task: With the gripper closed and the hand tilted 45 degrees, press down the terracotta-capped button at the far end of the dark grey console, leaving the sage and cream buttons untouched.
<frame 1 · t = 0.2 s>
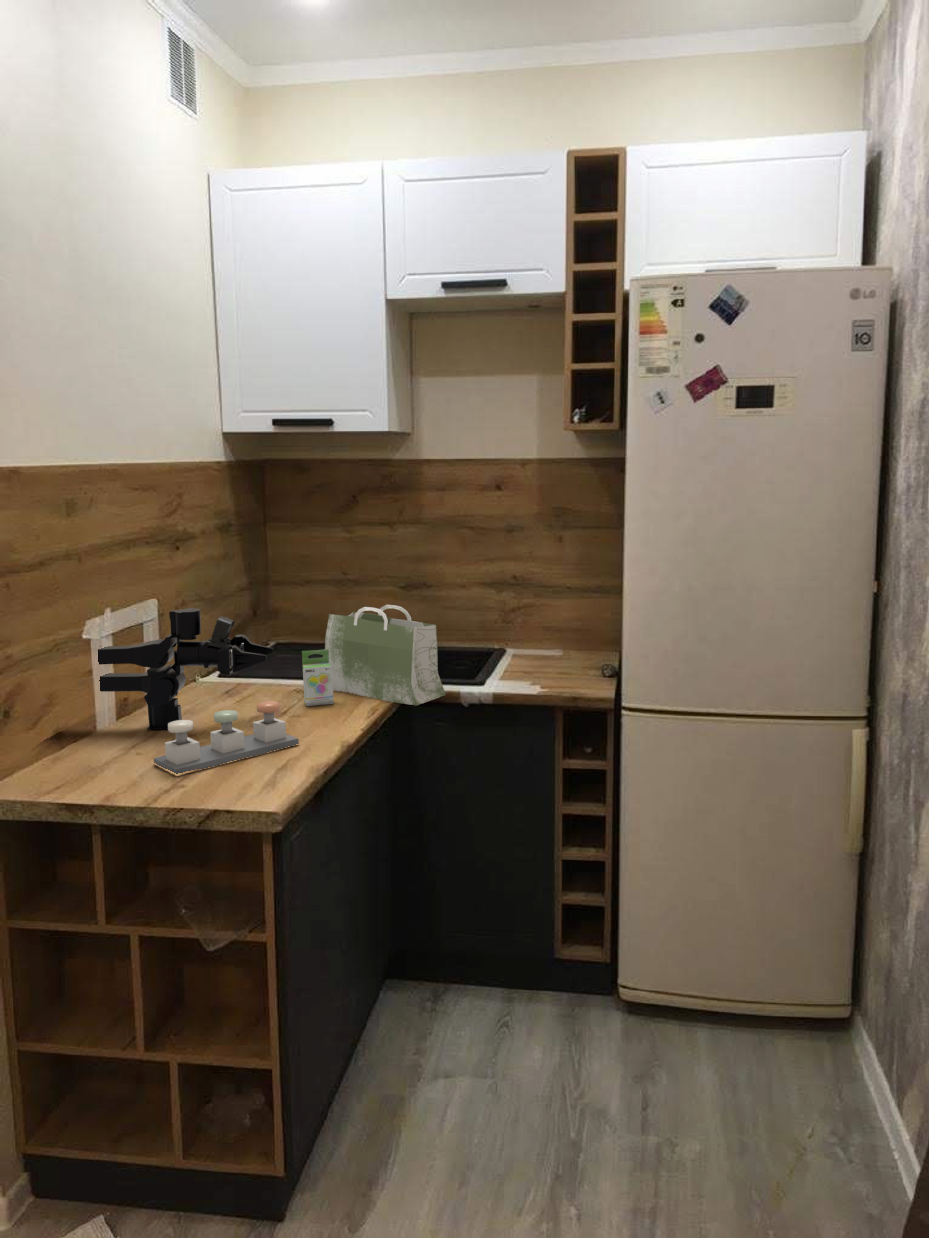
hand: (270, 654, 217), 16 cm above the counter, tool horizontal, fingers open, 9 cm apart
sage button: (226, 723, 195), point 7 cm above the counter, slide at 0.0 cm
grocery bag: (384, 692, 246), on the counter
cream button: (181, 734, 189), point 7 cm above the counter, slide at 0.0 cm
terracotta button: (268, 714, 202), point 7 cm above the counter, slide at 0.0 cm
console: (228, 754, 196), on the counter
ink box: (318, 704, 236), on the counter
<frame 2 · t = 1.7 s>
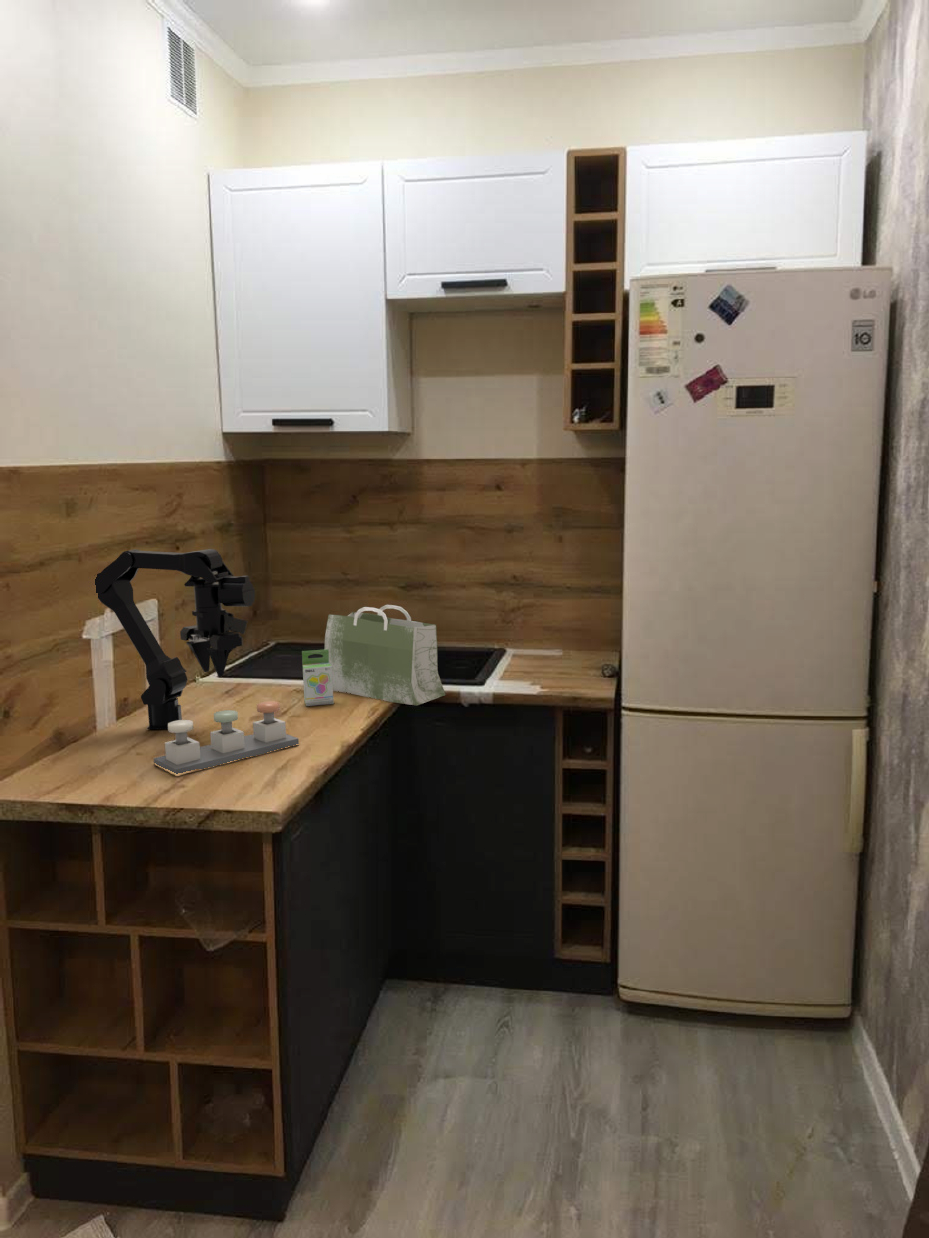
hand: (213, 673, 213), 13 cm above the counter, tool pointing down, fingers open, 6 cm apart
nothing on the counter moved.
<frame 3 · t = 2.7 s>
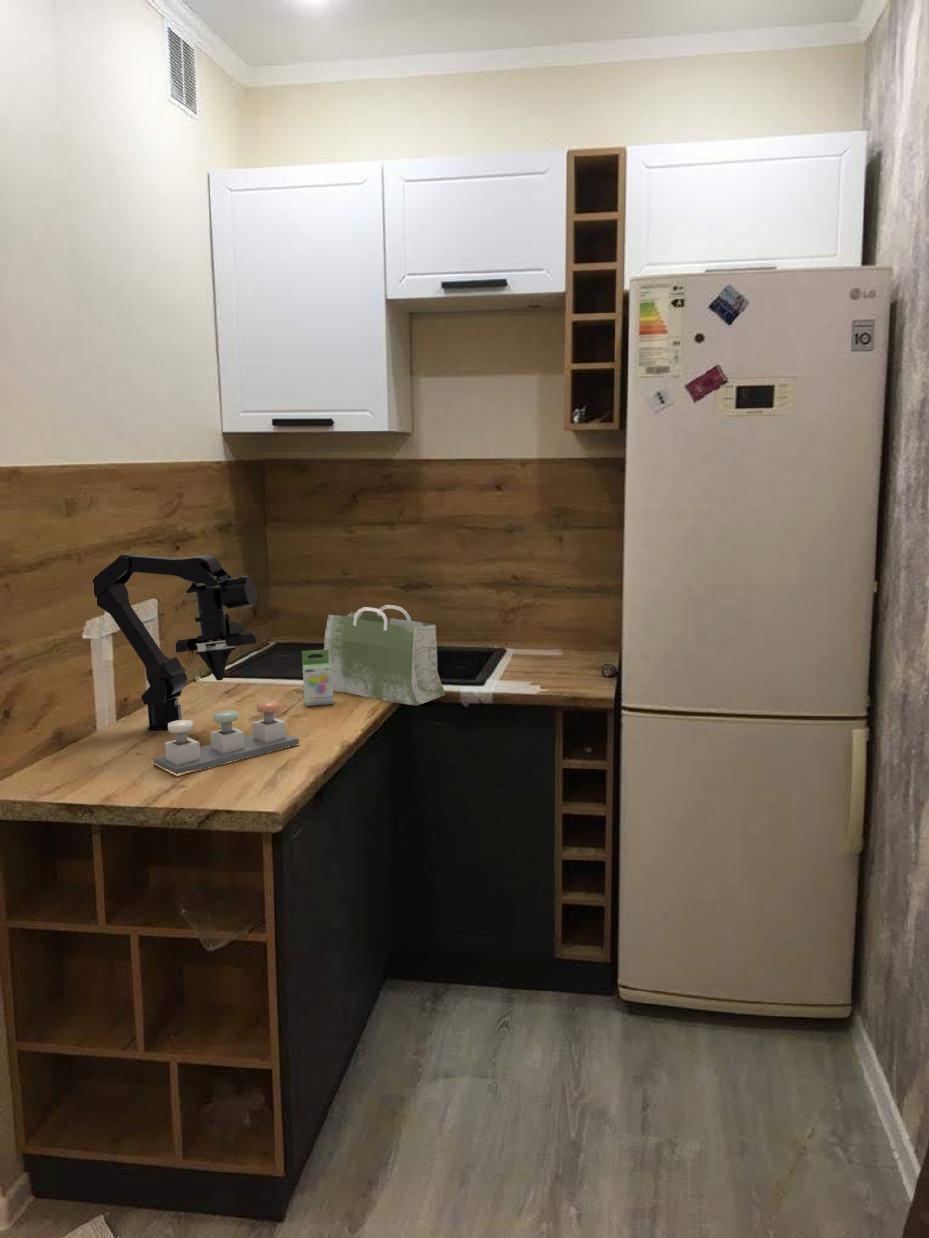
hand: (219, 680, 211), 12 cm above the counter, tool pointing down, fingers closed
nothing on the counter moved.
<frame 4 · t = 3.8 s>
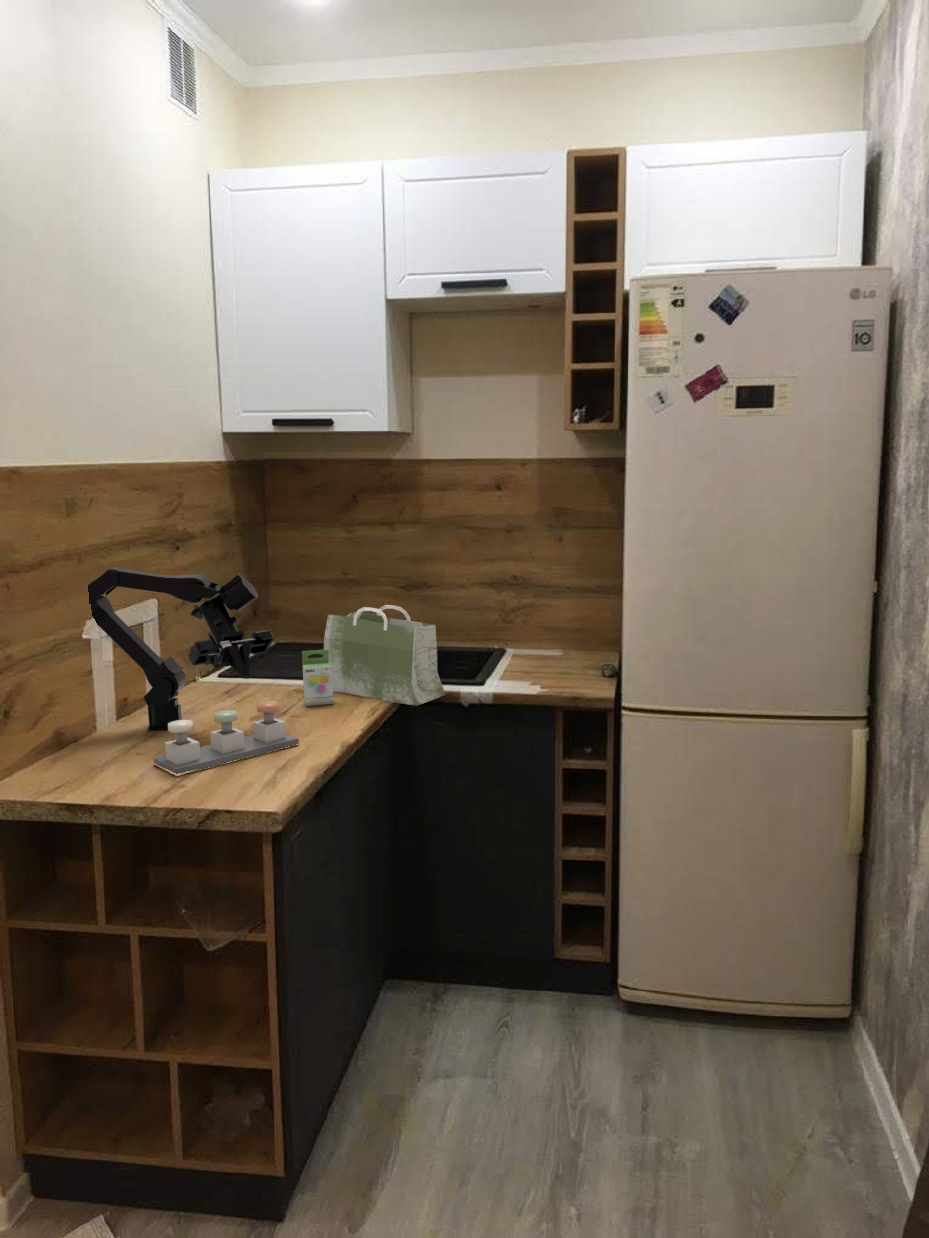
hand: (247, 677, 207), 13 cm above the counter, tool tilted 45°, fingers closed
nothing on the counter moved.
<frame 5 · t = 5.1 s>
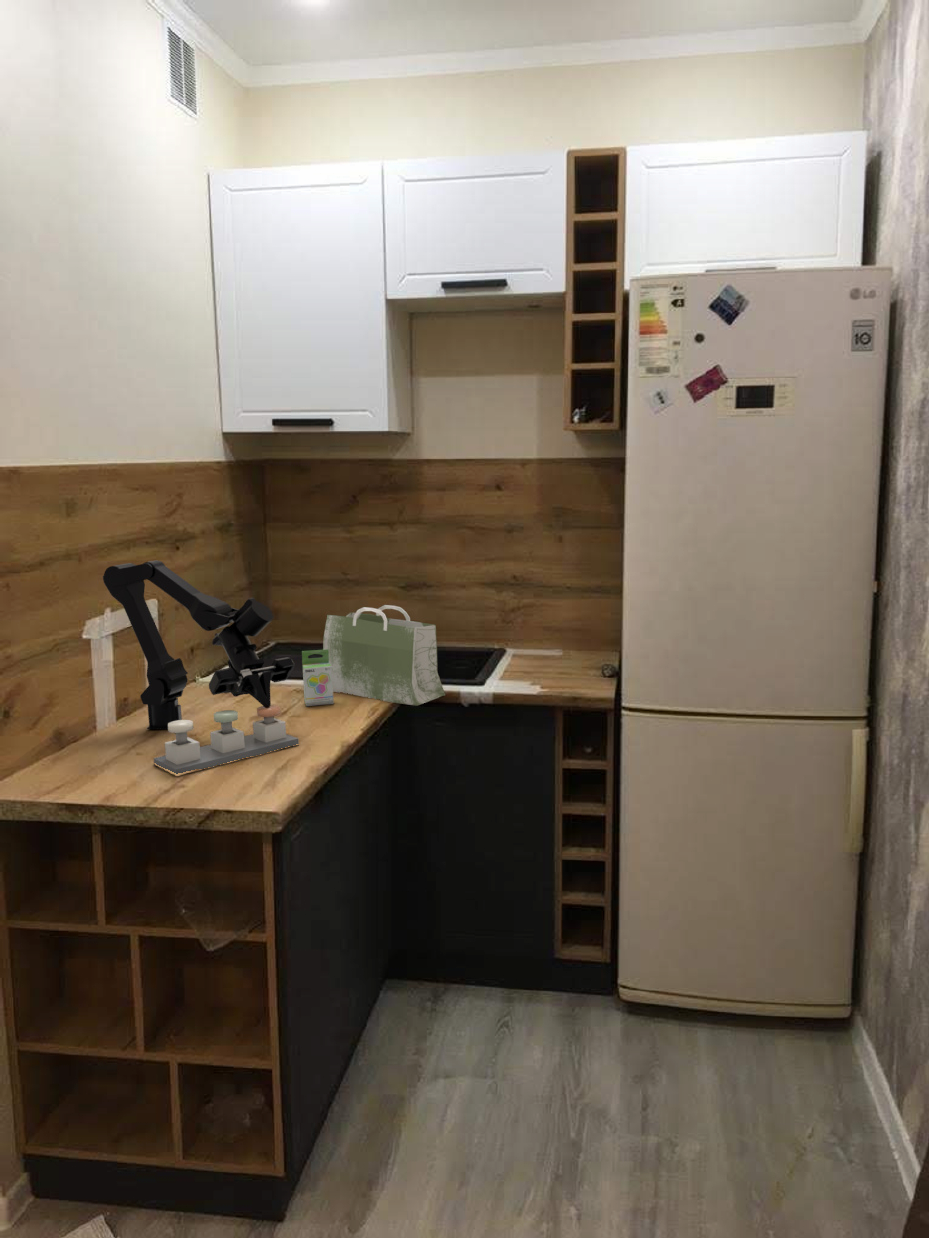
hand: (268, 706, 202), 8 cm above the counter, tool tilted 45°, fingers closed, pressing on terracotta button
terracotta button: (268, 718, 202), point 6 cm above the counter, slide at -0.9 cm, touching gripper
everything else where it was.
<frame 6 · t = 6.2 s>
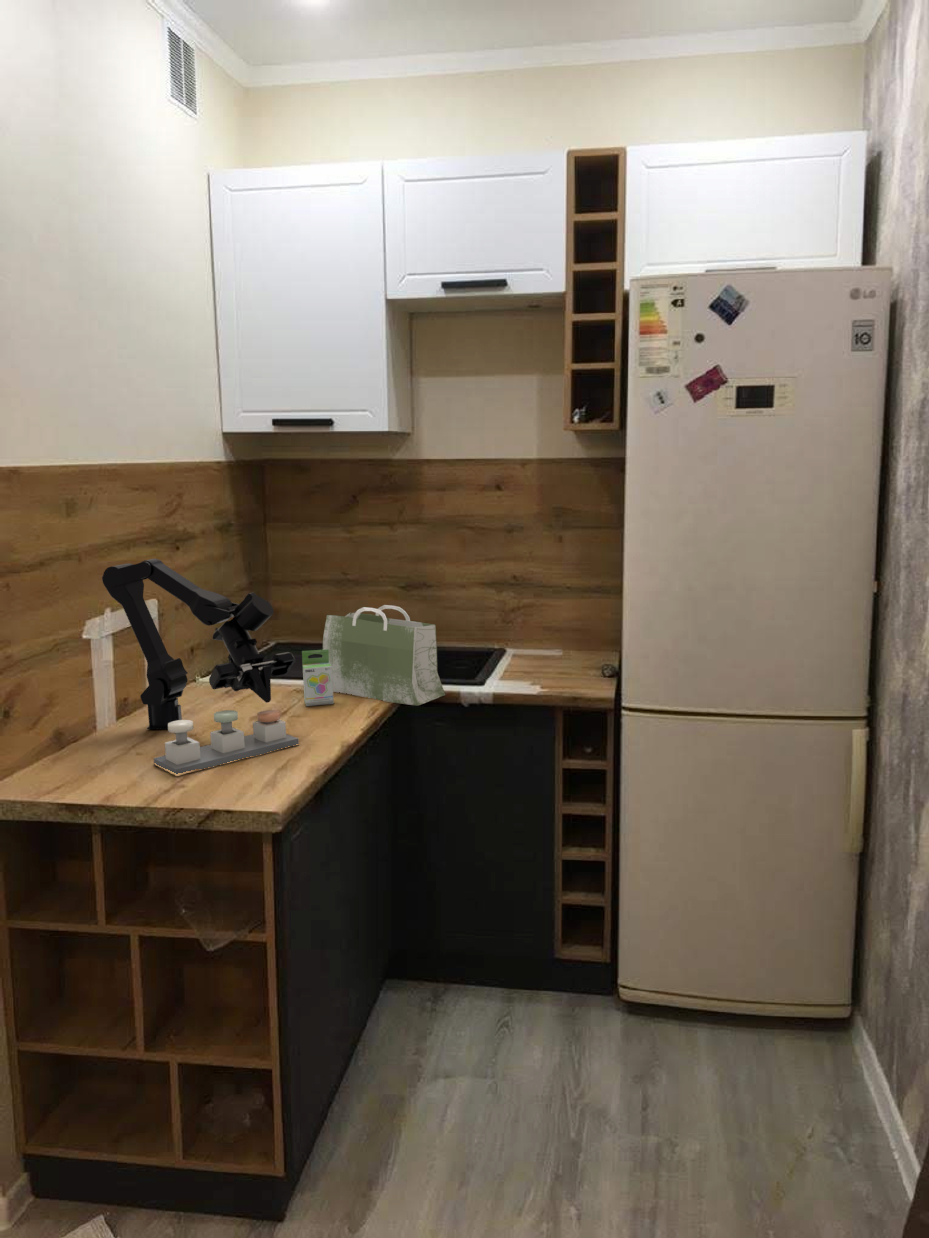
hand: (268, 701, 201), 10 cm above the counter, tool tilted 45°, fingers closed
terracotta button: (269, 723, 202), point 5 cm above the counter, slide at -2.0 cm
everything else where it was.
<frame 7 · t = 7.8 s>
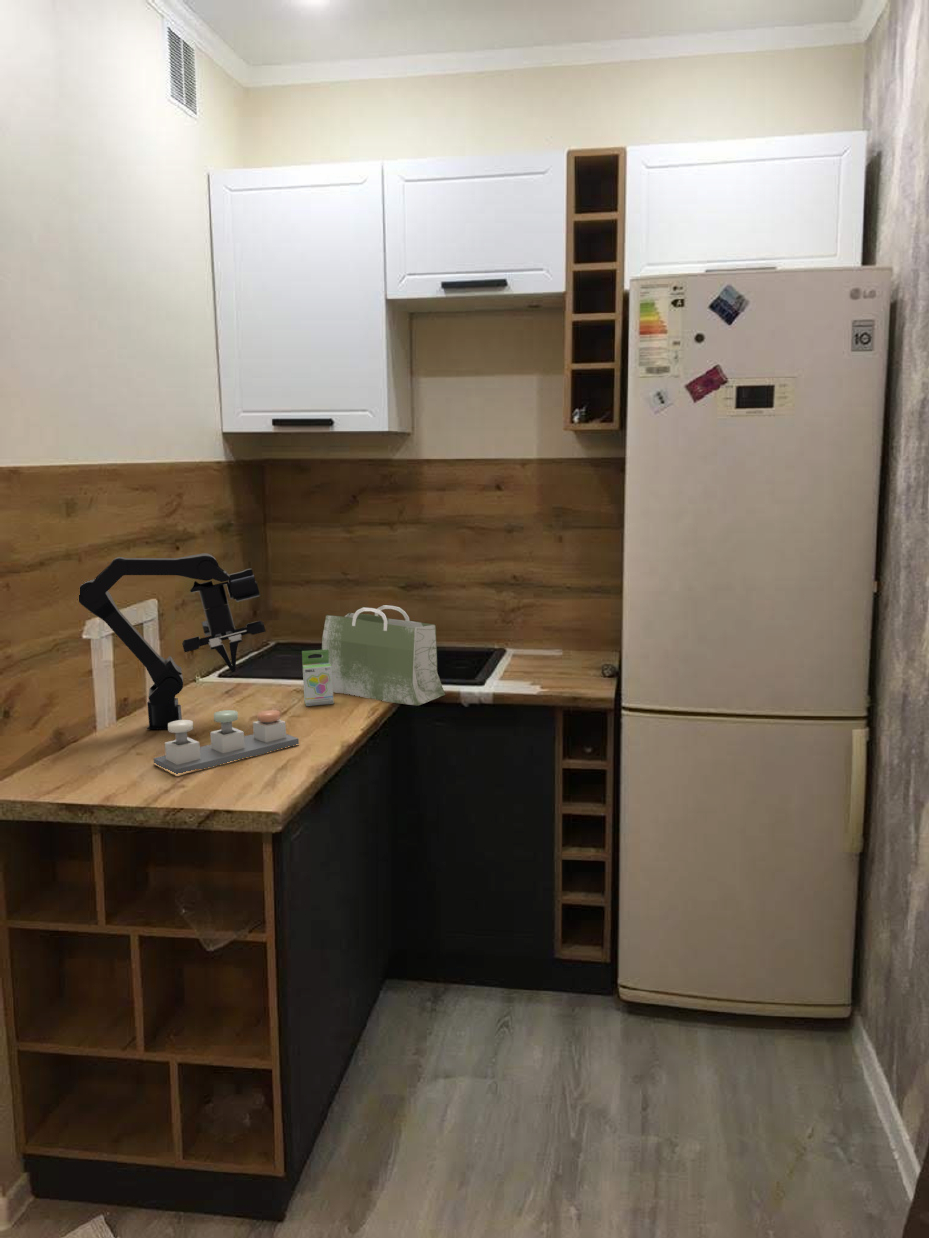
hand: (233, 672, 219), 12 cm above the counter, tool pointing down, fingers closed
nothing on the counter moved.
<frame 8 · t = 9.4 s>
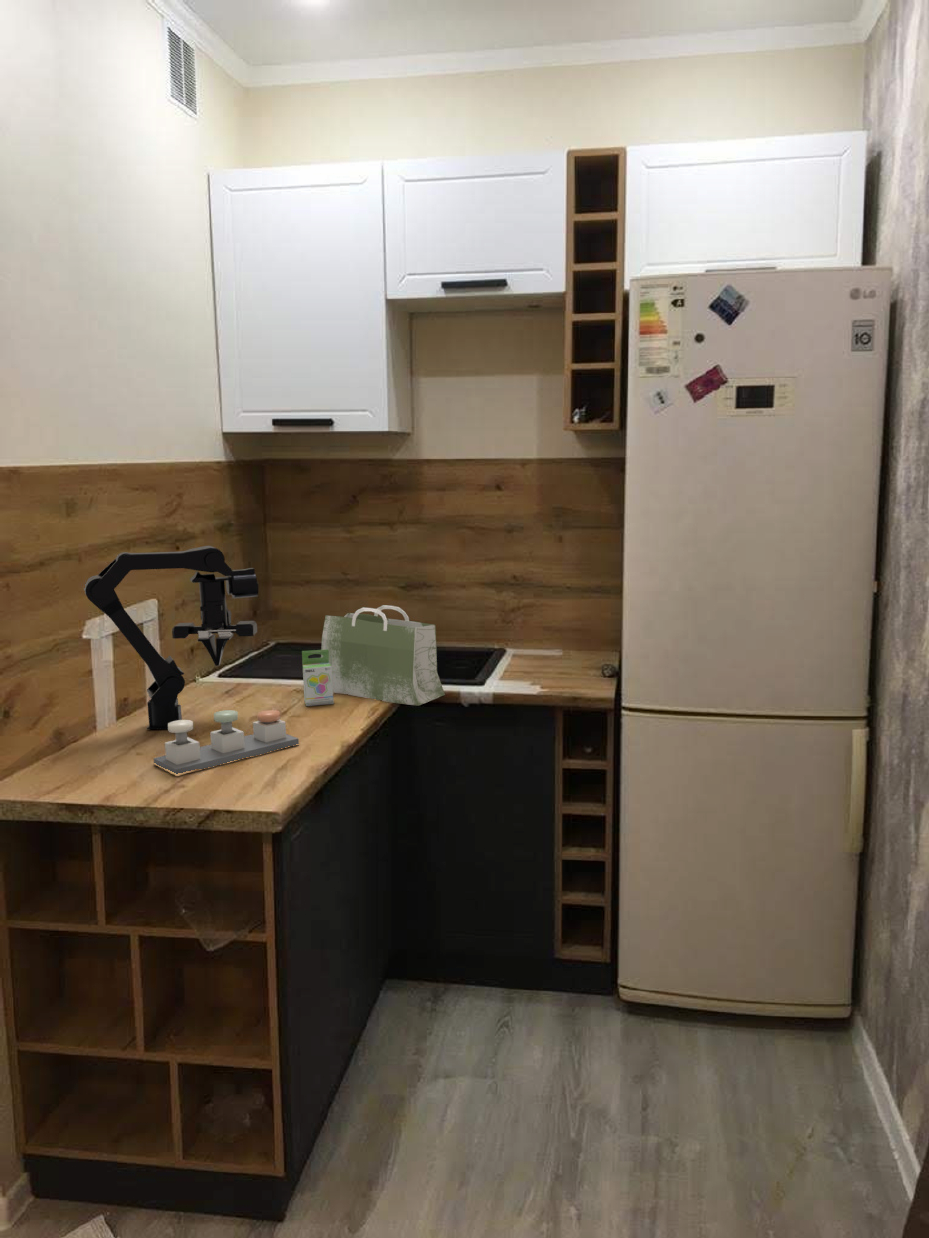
hand: (217, 665, 222), 13 cm above the counter, tool pointing down, fingers closed
at the end: terracotta button slide at -2.0 cm; sage button slide at 0.0 cm; cream button slide at 0.0 cm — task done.
